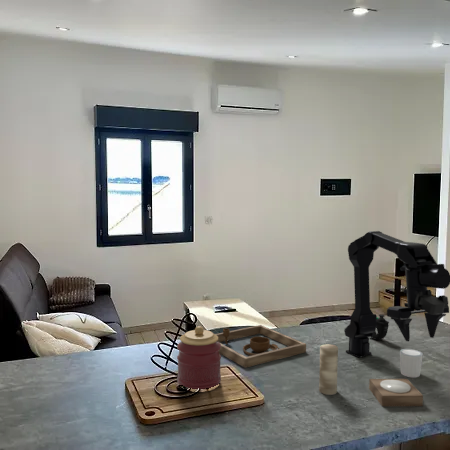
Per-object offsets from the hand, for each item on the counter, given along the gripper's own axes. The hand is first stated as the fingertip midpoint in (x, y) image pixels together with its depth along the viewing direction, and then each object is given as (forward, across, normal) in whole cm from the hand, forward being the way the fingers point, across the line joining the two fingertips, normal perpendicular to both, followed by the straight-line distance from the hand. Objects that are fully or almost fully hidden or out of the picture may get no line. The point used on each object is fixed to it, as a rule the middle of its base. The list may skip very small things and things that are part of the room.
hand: (419, 339), depth 141 cm
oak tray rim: (+8, -32, +48) cm, 58 cm away
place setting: (+8, -32, +48) cm, 59 cm away
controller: (+9, +16, +41) cm, 45 cm away
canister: (+11, -60, +26) cm, 67 cm away
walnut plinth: (+14, -12, -2) cm, 19 cm away
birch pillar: (+13, -27, +8) cm, 31 cm away
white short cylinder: (+13, +4, +9) cm, 17 cm away
